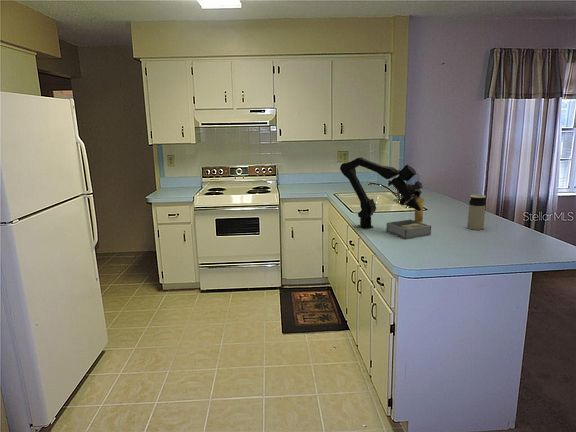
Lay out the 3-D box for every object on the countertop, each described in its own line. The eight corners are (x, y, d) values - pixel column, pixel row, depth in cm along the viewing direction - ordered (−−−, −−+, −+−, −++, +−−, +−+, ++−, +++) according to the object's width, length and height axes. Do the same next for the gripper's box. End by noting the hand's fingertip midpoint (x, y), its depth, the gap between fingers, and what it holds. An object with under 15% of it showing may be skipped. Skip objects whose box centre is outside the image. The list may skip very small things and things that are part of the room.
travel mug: (485, 230, 217) (488, 197, 213) (469, 230, 218) (471, 197, 214) (481, 226, 224) (484, 194, 220) (465, 226, 226) (468, 194, 222)
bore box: (386, 231, 219) (386, 222, 218) (410, 228, 225) (410, 219, 224) (405, 239, 205) (406, 229, 204) (430, 235, 211) (431, 225, 210)
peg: (413, 222, 212) (414, 198, 209) (415, 220, 215) (417, 197, 212) (421, 223, 209) (422, 199, 206) (423, 221, 212) (424, 197, 209)
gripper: (406, 179, 202) (427, 203, 198) (419, 174, 216) (439, 196, 212) (390, 193, 208) (411, 216, 204) (403, 188, 223) (423, 209, 219)
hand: (421, 209), depth 210 cm, fingers closed on peg, 4 cm apart
